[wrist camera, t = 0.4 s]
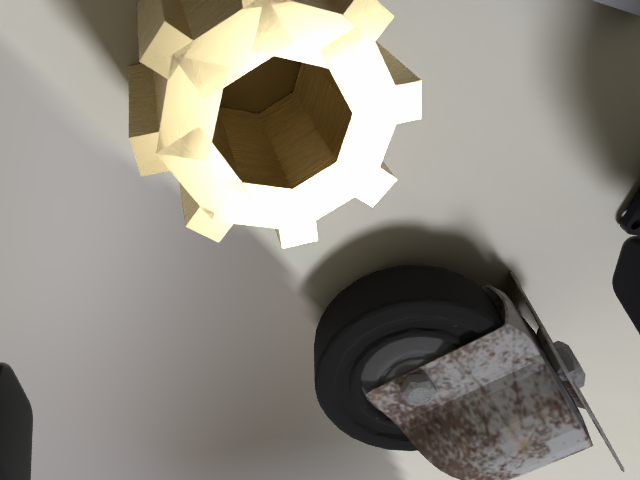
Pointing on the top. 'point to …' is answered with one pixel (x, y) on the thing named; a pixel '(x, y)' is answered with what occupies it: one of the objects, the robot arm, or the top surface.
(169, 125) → the planet gear
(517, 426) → the caster wheel
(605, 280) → the top surface
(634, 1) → the plate
